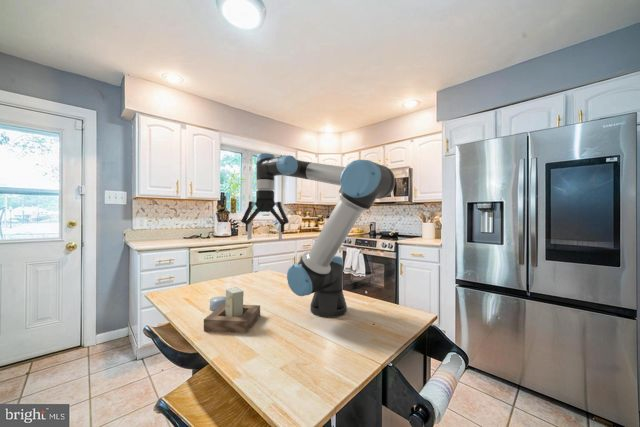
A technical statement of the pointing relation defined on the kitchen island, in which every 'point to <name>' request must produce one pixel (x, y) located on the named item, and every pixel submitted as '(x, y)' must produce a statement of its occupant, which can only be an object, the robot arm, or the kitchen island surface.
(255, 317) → the socket block
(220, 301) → the light blue rounded block
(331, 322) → the kitchen island surface
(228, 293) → the skincare box
